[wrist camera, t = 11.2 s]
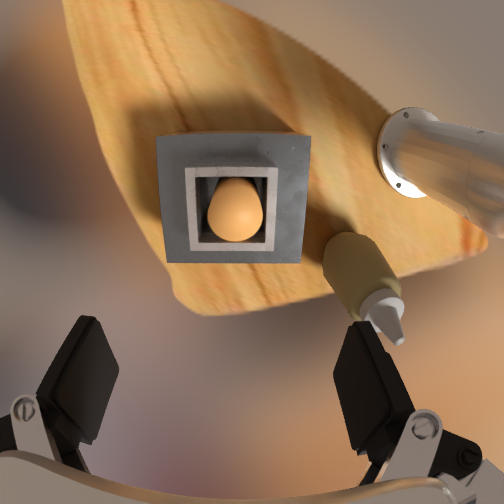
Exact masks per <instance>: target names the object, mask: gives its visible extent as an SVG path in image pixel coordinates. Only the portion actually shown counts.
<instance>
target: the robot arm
mask: <svg viewBox="0 0 504 504" xmlns="http://www.w3.org/2000/svg"><path fill="white" fill-rule="evenodd" d="M403 114H404V115H403ZM383 145H384V147H383ZM377 158H378V163H379V167H380V170H381V173H382V175H383V177H384V178H385V180H386V182H387V183H388V184H389V185H390V186H391V187H392V188H393V189H394V190H396V191H397V192H399V193H400V194H402V195H404V196H407V197H412V198H419V197H424V196H429V197H431V198H432V199H434V200H436V201H438V202H439V203H441V204H443V205H445V206H446V207H448V208H450V209H451V210H453V211H454V212H456V213H458V214H459V215H461V216H462V217H464V218H466V219H467V220H469V221H470V222H472V223H473V224H475V225H476V226H478V227H479V228H481V229H482V230H484V231H485V232H487V233H489V234H490V235H492V236H495V237H498V238H503V239H504V134H500V133H495V132H491V131H486V130H482V129H477V128H472V127H467V126H462V125H456V124H450V123H444V122H440V121H439V120H438V119H437V118H436V117H435V116H434V115H433V114H431V113H430V112H429V111H426V110H424V109H421V108H414V107H412V108H411V107H409V108H403V109H401V110H399V111H396V112H395V113H393V114H392V115H391V116H390V117H389V118H388V119H387V120H386V122H385V123H384V125H383V127H382V129H381V131H380V134H379V138H378V144H377ZM396 183H397V184H396ZM118 373H119V367H118V364H117V361H116V359H115V357H114V355H113V353H112V350H111V348H110V346H109V343H108V341H107V339H106V336H105V334H104V331H103V329H102V327H101V324H100V322H99V321H97V319H96V318H95V317H93V316H84V315H81V316H80V317H79V318H78V320H77V321H76V323H75V325H74V326H73V328H72V329H71V331H70V333H69V334H68V336H67V337H66V339H65V341H64V342H63V344H62V346H61V348H60V349H59V351H58V353H57V354H56V356H55V358H54V360H53V362H52V363H51V365H50V367H49V369H48V371H47V372H46V374H45V376H44V378H43V380H42V382H41V384H40V386H39V388H38V390H37V392H36V394H37V396H36V398H35V397H33V396H32V395H29V394H24V395H21V396H19V397H17V398H16V399H15V400H14V402H13V403H12V406H11V414H9V415H7V416H5V417H2V418H0V504H504V473H503V472H502V471H500V470H499V469H498V468H497V467H496V466H494V465H493V464H492V463H491V462H490V461H489V460H487V459H484V460H483V459H482V452H481V449H480V447H479V446H478V445H477V444H476V443H474V442H472V441H470V440H467V439H465V438H462V437H460V436H458V435H455V434H452V433H451V432H448V431H446V430H444V429H443V425H442V421H441V419H440V417H439V416H438V415H437V414H436V413H435V412H433V411H431V410H428V409H419V410H417V411H416V410H415V408H414V406H413V404H412V401H411V399H410V396H409V394H408V392H407V390H406V388H405V385H404V383H403V381H402V379H401V377H400V375H399V372H398V370H397V368H396V366H395V364H394V362H393V360H392V358H391V356H390V354H389V353H387V352H385V350H384V348H383V346H382V343H381V341H380V339H379V338H378V335H377V333H376V331H375V329H374V328H373V326H372V324H371V322H370V321H369V320H367V321H355V322H354V323H353V325H352V326H349V327H348V330H347V333H346V336H345V339H344V343H343V346H342V349H341V351H340V354H339V357H338V360H337V363H336V366H335V368H334V372H333V378H334V382H335V386H336V389H337V393H338V397H339V400H340V404H341V408H342V412H343V415H344V419H345V423H346V427H347V431H348V435H349V439H350V443H351V447H352V449H353V450H356V451H357V455H358V456H359V455H364V454H367V455H368V458H369V461H370V462H369V464H368V466H367V467H366V469H365V471H364V473H363V474H362V476H361V478H360V479H359V481H358V483H357V484H356V486H355V487H354V488H350V489H345V490H340V491H334V492H329V493H322V494H315V495H309V496H300V497H290V498H280V499H279V498H278V499H257V500H232V499H212V498H200V497H190V496H182V495H175V494H168V493H162V492H156V491H152V490H147V489H142V488H137V487H133V486H129V485H125V484H121V483H117V482H114V481H110V480H107V479H104V478H101V477H98V476H95V475H91V473H90V471H89V469H88V467H87V465H86V463H85V461H84V458H83V456H82V454H81V452H80V449H79V447H78V446H79V443H80V442H83V443H86V444H89V445H92V441H93V440H95V439H96V438H97V435H98V432H99V429H100V426H101V422H102V419H103V416H104V413H105V410H106V407H107V404H108V401H109V398H110V396H111V393H112V390H113V387H114V384H115V382H116V379H117V376H118Z"/></svg>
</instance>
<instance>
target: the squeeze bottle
mask: <svg viewBox="0 0 504 504" xmlns="http://www.w3.org/2000/svg"><path fill="white" fill-rule="evenodd" d="M322 267H323V273H324V277H325V278H326V280H327V281H328V283H329V284H330V286H331V287H332V289H333V290H334V292H335V293H336V294H337V296H338V298H339V299H340V300H341V302H342V303H343V305H344V307H345V308H346V309H347V311H348V313H349V314H350V316H351V317H352V318H353V320H356V321H367V320H369V321H370V322H371V324H372V326H373V328H374V329H375V331H376V332H383V333H384V334H385V335H386V336H387V337H388V339H389V340H391V342H392V343H393V344H394V345H399V344H401V343H402V342H404V340H405V336H404V333H403V329H402V326H401V322H400V318H401V316H402V314H403V311H404V303H403V301H402V299H401V298H400V297H401V286H400V283H399V281H398V279H397V277H396V276H395V274H394V272H393V271H392V269H391V267H390V266H389V264H388V263H387V261H386V259H385V258H384V256H383V255H382V253H381V251H380V250H379V248H378V247H377V245H376V244H375V242H374V241H373V240H371V239H370V238H368V237H367V236H364V235H360V234H357V233H352V232H342V233H338V234H336V235H335V236H333V237H332V238H331V239H330V240H329V241H328V243H327V244H326V246H325V250H324V256H323V264H322Z"/></svg>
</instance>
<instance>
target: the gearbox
mask: <svg viewBox="0 0 504 504" xmlns="http://www.w3.org/2000/svg"><path fill="white" fill-rule="evenodd" d="M310 148H311V136H309V135H305V134H302V133H298V132H289V131H268V130H206V131H185V132H174V133H170V134H165V135H161V136H157V137H156V154H157V171H158V185H159V197H160V208H161V218H162V227H163V235H164V243H165V251H166V258H167V263H300V261H301V252H302V243H303V234H304V224H305V213H306V202H307V190H308V177H309V163H310ZM223 176H247V177H252V178H253V179H254V181H255V183H256V186H257V190H258V196H259V199H260V203H261V207H262V212H263V219H262V223H261V226H260V228H259V229H258V231H257V232H256V233H255V234H254V235H253V236H251V237H250V238H248V239H246V240H243V241H228V240H225V239H222V238H221V237H219V236H218V235H216V234H215V233H214V232H213V230H212V229H211V227H210V225H209V222H208V209H209V206H210V203H211V200H212V197H213V194H214V190H215V187H216V184H217V181H218V180H219V178H220V177H223Z"/></svg>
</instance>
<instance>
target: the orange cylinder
mask: <svg viewBox="0 0 504 504" xmlns="http://www.w3.org/2000/svg"><path fill="white" fill-rule="evenodd" d="M262 219H263V212H262V207H261V203H260V199H259V196H258V190H257V186H256V183H255V181H254V179H253V178H252V177H247V176H223V177H220V178H219V180H218V181H217V184H216V187H215V190H214V194H213V197H212V200H211V203H210V206H209V209H208V222H209V225H210V227H211V229H212V230H213V232H214V233H215V234H216V235H218V236H219V237H221V238H222V239H225V240H228V241H243V240H246V239H248V238H250V237H251V236H253V235H254V234H255V233H256V232H257V231H258V229H259V228H260V226H261V223H262Z"/></svg>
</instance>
